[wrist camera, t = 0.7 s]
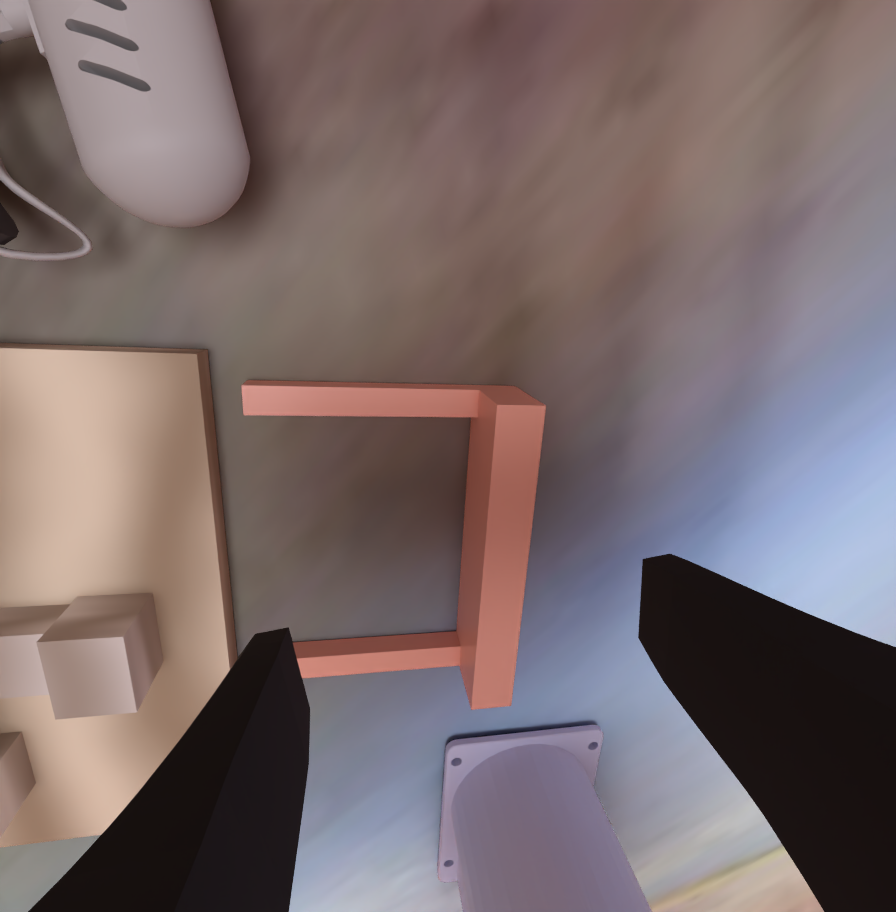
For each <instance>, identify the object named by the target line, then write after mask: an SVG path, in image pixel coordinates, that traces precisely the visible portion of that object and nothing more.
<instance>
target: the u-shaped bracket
mask: <svg viewBox="0 0 896 912" xmlns="http://www.w3.org/2000/svg"><path fill="white" fill-rule="evenodd" d="M241 387H242V400H243V412H244V415H278V416H382V417H471V425H470V440H469V454H468V469H467V483H466V498H465V512H464V527H463V541H462V556H461V570H460V585H459V600H458V614H457V629H456V631H451V632H436V633H422V634H407V635H393V636H378V637H364V638H349V639H335V640H320V641H306V642H293V646H294V650H295V654H296V657H297V661H298V665H299V669H300V673H301V676H302V678H313V677H325V676H337V675H350V674H362V673H374V672H386V671H398V670H411V669H423V668H435V667H447V666H460V670H461V674H462V677H463V681H464V685H465V688H466V692H467V696H468V699H469V703H470V707H471V710H473V709H483V708H494V707H504V706H511V702H512V694H513V685H514V677H515V668H516V659H517V651H518V642H519V634H520V625H521V616H522V608H523V599H524V591H525V582H526V574H527V565H528V556H529V548H530V539H531V531H532V522H533V513H534V505H535V496H536V488H537V479H538V470H539V462H540V453H541V445H542V436H543V428H544V419H545V410H546V405H544V404H543V403H541V402H539V401H538V400H536V399H535V398H533V397H531V396H530V395H528V394H527V393H525V392H523V391H522V390H520V389H519V388H517V387H515V386H500V385H454V384H407V383H361V382H315V381H269V380H247V381H246V382H245V383H244V384H242V385H241Z"/></svg>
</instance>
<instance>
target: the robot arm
mask: <svg viewBox="0 0 896 912" xmlns="http://www.w3.org/2000/svg"><path fill="white" fill-rule="evenodd" d="M638 638H639V640H640V641H641V643H642V645H643V647H644V648H645V650H646V652H647V654H648V656H649V657H650V659H651V661H652V663H653V664H654V666H655V668H656V669H657V671H658V673H659V674H660V676H661V678H662V679H663V681H664V683H665V684H666V685H667V687H668V688H669V689H670V691H671V692H672V693H673V695H674V696H675V698H676V699H677V700H678V702H679V703H680V704H681V705H682V707H683V708H684V709H685V711H686V712H687V713H688V715H689V716H690V717H691V719H692V720H693V721H694V723H695V724H696V725H697V727H698V728H699V729H700V731H701V732H702V733H703V735H704V736H705V737H706V738H707V740H708V741H709V742H710V744H711V745H712V746H713V748H714V749H715V750H716V752H717V753H718V754H719V755H720V757H721V758H722V759H723V761H724V762H725V763H726V765H727V766H728V767H729V769H730V770H731V771H732V772H733V774H734V775H735V776H736V778H737V779H738V780H739V782H740V783H741V784H742V786H743V787H744V788H745V790H746V791H747V792H748V794H749V795H750V797H751V798H752V799H753V801H754V802H755V804H756V805H757V806H758V808H759V809H760V811H761V812H762V813H763V815H764V816H765V818H766V819H767V821H768V823H769V824H770V826H771V827H772V829H773V830H774V832H775V833H776V835H777V837H778V838H779V840H780V841H781V843H782V844H783V846H784V848H785V849H786V851H787V852H788V854H789V855H790V857H791V858H792V860H793V862H794V863H795V865H796V866H797V868H798V869H799V871H800V873H801V874H802V876H803V877H804V879H805V881H806V882H807V884H808V886H809V887H810V889H811V890H812V892H813V894H814V895H815V897H816V899H817V900H818V902H819V904H820V905H821V907H822V908H823V910H824V912H896V647H893V646H891V645H888V644H885V643H882V642H879V641H876V640H874V639H871V638H868V637H865V636H863V635H860V634H857V633H855V632H852V631H850V630H847V629H845V628H842V627H840V626H837V625H835V624H832V623H830V622H827V621H825V620H822V619H820V618H817V617H815V616H812V615H810V614H807V613H805V612H803V611H800V610H798V609H796V608H793V607H791V606H789V605H786V604H784V603H782V602H779V601H777V600H775V599H772V598H770V597H768V596H766V595H763V594H761V593H759V592H757V591H754V590H752V589H750V588H748V587H746V586H743V585H741V584H739V583H737V582H735V581H732V580H730V579H728V578H726V577H724V576H721V575H719V574H717V573H715V572H713V571H710V570H708V569H706V568H704V567H701V566H699V565H697V564H694V563H692V562H690V561H687V560H685V559H682V558H680V557H677V556H675V555H672V554H666V555H661V556H656V557H651V558H646V559H643V566H642V584H641V602H640V619H639V637H638ZM309 734H310V707H309V703H308V699H307V695H306V692H305V688H304V684H303V680H302V676H301V673H300V669H299V665H298V661H297V657H296V654H295V650H294V646H293V642H292V638H291V634H290V631H289V627H288V628H283V629H278V630H273V631H268V632H263V633H257V634H255V635H254V636H253V638H252V639H251V640H250V642H249V643H248V645H247V646H246V647H245V649H244V650H243V652H242V653H241V655H240V656H239V657H238V659H237V660H236V662H235V663H234V665H233V666H232V668H231V669H230V671H229V672H228V673H227V675H226V676H225V678H224V679H223V681H222V682H221V684H220V685H219V686H218V688H217V689H216V691H215V692H214V694H213V695H212V696H211V698H210V699H209V701H208V702H207V703H206V705H205V706H204V707H203V709H202V710H201V711H200V713H199V714H198V716H197V717H196V718H195V720H194V721H193V722H192V724H191V725H190V727H189V728H188V729H187V731H186V732H185V733H184V735H183V736H182V737H181V739H180V740H179V741H178V743H177V744H176V745H175V746H174V748H173V749H172V750H171V751H170V753H169V754H168V755H167V757H166V758H165V759H164V760H163V762H162V763H161V764H160V765H159V767H158V768H157V769H156V770H155V772H154V773H153V774H152V775H151V777H150V778H149V779H148V780H147V782H146V783H145V784H144V785H143V787H142V788H141V789H140V790H139V792H138V793H137V794H136V795H135V797H134V798H133V799H132V800H131V801H130V802H129V804H128V805H127V806H126V807H125V808H124V810H123V811H122V812H121V813H120V814H119V815H118V817H117V818H116V819H115V820H114V821H113V822H112V823H111V825H110V826H109V827H108V828H107V829H106V830H105V831H104V832H103V834H102V835H101V836H100V837H99V838H98V839H97V840H96V841H95V842H94V843H93V845H92V846H91V847H90V848H89V849H88V850H87V851H86V852H85V853H84V855H83V856H82V857H81V858H80V859H79V860H78V861H77V862H76V863H75V864H74V865H73V866H72V868H71V869H70V870H69V871H68V872H67V873H66V874H65V875H64V876H63V877H62V878H61V879H60V880H59V881H58V882H57V883H56V884H55V885H54V886H53V887H52V888H51V889H50V890H49V891H48V892H47V893H46V894H45V895H44V896H43V897H42V898H41V899H40V900H39V901H38V902H37V903H36V904H35V905H34V906H33V907H32V908H31V909H30V910H29V911H28V912H289V905H290V898H291V890H292V883H293V876H294V869H295V861H296V854H297V847H298V840H299V833H300V825H301V818H302V811H303V803H304V796H305V788H306V781H307V773H308V765H309ZM602 741H603V732H602V730H601V729H600V727H599V726H597V725H585V726H576V727H567V728H558V729H548V730H539V731H530V732H521V733H512V734H502V735H493V736H484V737H475V738H466V739H456V740H452V741H451V742H449V743H448V744H447V746H446V749H445V763H444V778H443V793H442V808H441V823H440V838H439V854H438V869H437V872H438V878H439V880H440V881H441V882H444V883H445V882H453V881H458V885H459V891H460V897H461V903H462V909H463V912H652V910H651V908H650V906H649V904H648V902H647V900H646V898H645V896H644V893H643V891H642V889H641V887H640V885H639V883H638V881H637V879H636V877H635V874H634V872H633V870H632V868H631V866H630V864H629V862H628V860H627V857H626V855H625V853H624V851H623V849H622V847H621V845H620V843H619V841H618V838H617V836H616V834H615V832H614V830H613V828H612V826H611V824H610V822H609V819H608V817H607V815H606V813H605V811H604V809H603V807H602V805H601V802H600V800H599V798H598V796H597V794H596V792H595V790H594V788H593V787H594V782H595V777H596V772H597V767H598V761H599V756H600V751H601V746H602ZM454 758H456V759H454Z"/></svg>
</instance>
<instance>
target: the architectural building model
mask: <svg viewBox="0 0 896 912" xmlns="http://www.w3.org/2000/svg"><path fill="white" fill-rule="evenodd" d="M237 659H238V657H237V647H236V636H235V626H234V616H233V606H232V595H231V585H230V575H229V564H228V554H227V544H226V534H225V523H224V513H223V503H222V493H221V482H220V472H219V462H218V451H217V441H216V431H215V421H214V410H213V400H212V390H211V380H210V369H209V359H208V350H207V349H175V348H144V347H112V346H80V345H49V344H17V343H0V847H8V846H15V845H23V844H31V843H39V842H47V841H55V840H63V839H71V838H78V837H86V836H94V835H102V834H103V832H104V831H105V830H106V829H107V828H108V827H109V826H110V825H111V823H112V822H113V821H114V820H115V819H116V818H117V817H118V815H119V814H120V813H121V812H122V811H123V810H124V808H125V807H126V806H127V805H128V804H129V802H130V801H131V800H132V799H133V798H134V797H135V795H136V794H137V793H138V792H139V790H140V789H141V788H142V787H143V785H144V784H145V783H146V782H147V780H148V779H149V778H150V777H151V775H152V774H153V773H154V772H155V770H156V769H157V768H158V767H159V765H160V764H161V763H162V762H163V760H164V759H165V758H166V757H167V755H168V754H169V753H170V751H171V750H172V749H173V748H174V746H175V745H176V744H177V743H178V741H179V740H180V739H181V737H182V736H183V735H184V733H185V732H186V731H187V729H188V728H189V727H190V725H191V724H192V722H193V721H194V720H195V718H196V717H197V716H198V714H199V713H200V711H201V710H202V709H203V707H204V706H205V705H206V703H207V702H208V701H209V699H210V698H211V696H212V695H213V694H214V692H215V691H216V689H217V688H218V686H219V685H220V684H221V682H222V681H223V679H224V678H225V676H226V675H227V673H228V672H229V671H230V669H231V668H232V666H233V665H234V663H235V662H236V660H237Z"/></svg>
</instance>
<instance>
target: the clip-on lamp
mask: <svg viewBox="0 0 896 912" xmlns="http://www.w3.org/2000/svg"><path fill="white" fill-rule="evenodd" d="M31 36H34V37H35V40H36V43H37V45H38V48H39V51H40V53H41V54H42V55H43V56H44V57H45V58H46V59H47V61H48V64H49V67H50V70H51V73H52V76H53V79H54V82H55V85H56V88H57V91H58V94H59V97H60V100H61V103H62V107H63V110H64V113H65V116H66V119H67V122H68V125H69V128H70V131H71V134H72V137H73V140H74V143H75V146H76V149H77V153H78V156H79V159H80V162H81V165H82V168H83V171H84V172H85V174H86V175H87V176H88V177H89V179H90V180H91V181H92V183H93V184H94V185H95V186H96V187H97V188H98V189H99V190H101V191H102V192H103V193H104V194H105V195H106V196H107V197H108V198H109V199H111V200H112V201H113V202H114V203H115V204H117V205H118V206H119V207H121V208H122V209H124V210H125V211H127V212H128V213H130V214H132V215H134V216H136V217H138V218H141V219H143V220H145V221H148V222H151V223H154V224H157V225H161V226H166V227H177V228H189V227H196V226H200V225H204V224H207V223H210V222H212V221H214V220H216V219H218V218H219V217H221V216H222V215H224V214H225V213H226V212H227V211H228V210H229V209H230V208H231V207H232V206H233V205H234V204H235V203H236V202H237V201H238V199H239V197H240V196H241V194H242V192H243V190H244V187H245V184H246V181H247V177H248V172H249V166H250V155H249V151H248V147H247V143H246V140H245V136H244V132H243V128H242V124H241V120H240V116H239V112H238V108H237V104H236V100H235V96H234V93H233V89H232V85H231V81H230V77H229V73H228V69H227V65H226V61H225V57H224V53H223V49H222V45H221V42H220V38H219V34H218V30H217V26H216V22H215V18H214V14H213V10H212V6H211V2H210V0H0V44H1V43H3V42H6V41H9V40H12V39H17V38H21V37H24V38H27V37H31ZM0 180H1V181H2V182H3V183H4V184H5V185H6V186H7V187H8V188H9V189H10V190H11V191H13V192H14V193H15V194H16V195H17V196H19V197H20V198H22V199H23V200H25V201H26V202H28V203H29V204H31V205H32V206H34V207H36V208H37V209H39V210H41V211H42V212H44V213H45V214H47V215H49V216H50V217H52V218H53V219H55V220H57V221H58V222H60V223H61V224H63V225H64V226H66V227H67V228H69V229H70V230H71V231H73V232H74V233H76V234H77V235H78V236H79V237H80V238H81V239H82V241H83V246H82V247H81V248H80V249H77V250H74V251H70V252H60V253H34V252H25V251H17V250H11V249H7V248H3V247H0V256H4V257H8V258H13V259H24V260H34V261H57V260H66V259H74V258H78V257H81V256H84V255H87V254H88V253H89V252H90V251H91V250H92V242H91V240H90V239H89V238H88V237H87V235H86V234H85V233H84V232H83V231H82V230H81V229H79V228H78V227H77V226H76V225H75V224H73V223H72V222H71V221H69V220H68V219H67V218H65V217H64V216H62V215H61V214H60V213H58V212H57V211H55V210H54V209H53V208H51V207H50V206H48V205H47V204H45V203H44V202H42V201H41V200H39V199H38V198H37V197H35V196H34V195H32V194H31V193H30V192H28V191H27V190H26V189H24V188H23V187H21V186H20V185H19V184H18V183H17V182H16V181H14V180H13V179H12V178H11V177H10V175H9V174H8V173H7V171H6V168H5V166H4V164H3V162H2V159H1V157H0ZM18 232H19V231H18V229H17V227H16V225H15V223H14V221H13V219H12V218H11V217H10V215H9V214H8V213H7V211H6V210H5V209H4V207H3V206H2V205H1V203H0V245H5V244H6V243H8V242H9V241H11V240H13V239H14V238H16V237H17V235H18Z"/></svg>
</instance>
